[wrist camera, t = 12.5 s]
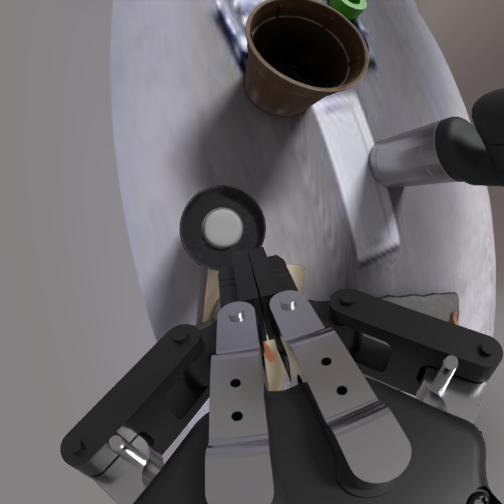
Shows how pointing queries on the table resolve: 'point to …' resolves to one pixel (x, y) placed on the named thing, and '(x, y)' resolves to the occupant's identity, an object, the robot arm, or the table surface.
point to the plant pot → (300, 55)
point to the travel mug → (221, 225)
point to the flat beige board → (274, 367)
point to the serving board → (426, 309)
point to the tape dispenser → (349, 7)
